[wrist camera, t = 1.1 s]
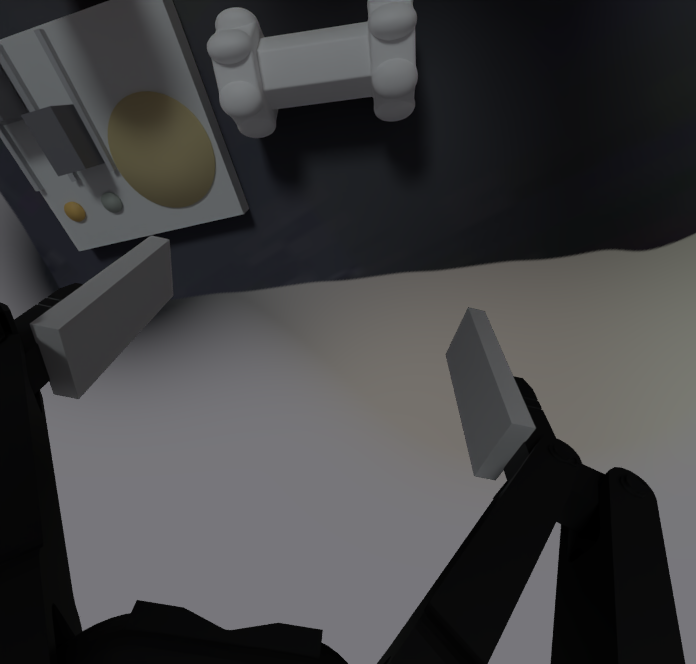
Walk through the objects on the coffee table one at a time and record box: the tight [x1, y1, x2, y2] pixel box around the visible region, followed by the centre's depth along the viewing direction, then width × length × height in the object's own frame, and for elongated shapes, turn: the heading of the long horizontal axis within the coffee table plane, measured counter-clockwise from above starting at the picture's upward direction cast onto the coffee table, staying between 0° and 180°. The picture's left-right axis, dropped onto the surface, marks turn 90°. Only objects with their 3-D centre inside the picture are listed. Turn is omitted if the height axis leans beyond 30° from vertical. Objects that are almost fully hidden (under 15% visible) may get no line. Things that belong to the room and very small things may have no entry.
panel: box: [0, 0, 249, 251], centre depth 35 cm, size 18×20×5 cm
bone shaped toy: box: [207, 0, 418, 138], centre depth 30 cm, size 15×9×8 cm, turn 96°
